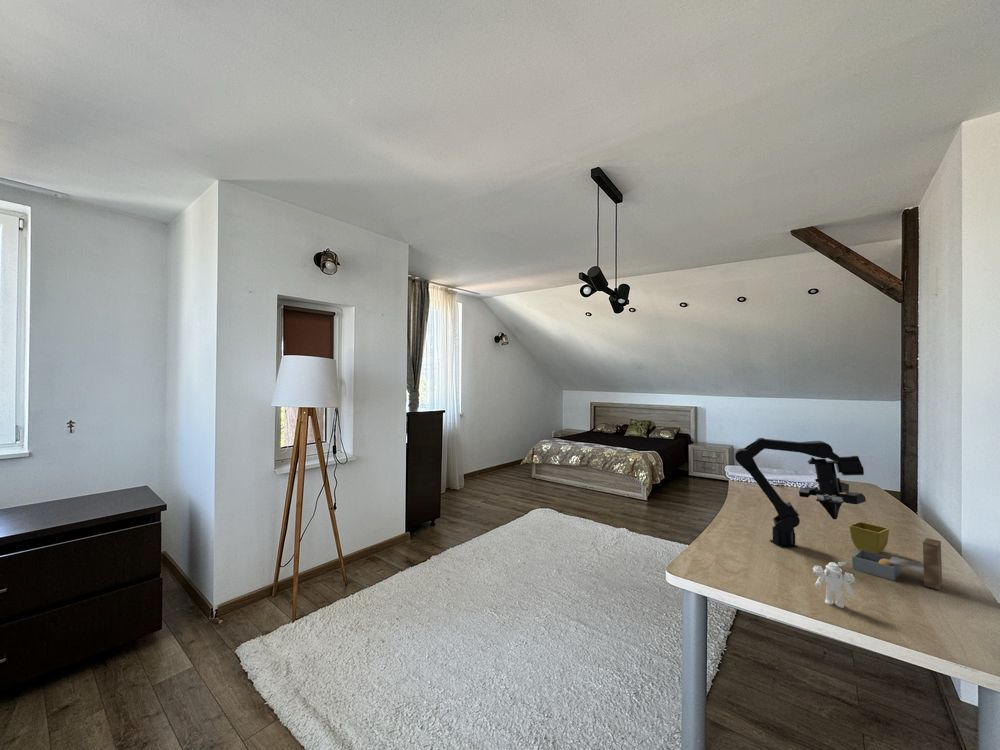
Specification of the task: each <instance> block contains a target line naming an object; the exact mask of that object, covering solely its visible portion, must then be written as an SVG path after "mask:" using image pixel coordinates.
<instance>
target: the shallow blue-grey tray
mask: <svg viewBox="0 0 1000 750" xmlns="http://www.w3.org/2000/svg"><path fill="white" fill-rule="evenodd" d="M891 558H892V556H887V555H884V554H880V553H878V554H877V553H873V552H869V551H865V550H861V549H860V550H858V551H857V552H856V553H855V554H853V555H852V557H851V562H852V564H851V565H852V568H851V569H852V570H856V571H860V572H863V573H866V574H869V575H872V576H873V575H874V576H877V577H880V578H883V579H886V580H890V581H896V580H897V578H898V577H899V576H900V575H901V574H902V572H903V571H902V567H900V566H896V565H893V566H892V567H891V566H888V565H884V564H880V563H878V562H879V560H881V559H889V560H890V559H891Z"/></svg>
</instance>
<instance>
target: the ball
mask: <svg viewBox="0 0 1000 750" xmlns="http://www.w3.org/2000/svg"><path fill="white" fill-rule="evenodd" d="M888 561H889V559H881V560H879V562H878V563H880V564H884V565H888V566H891V567H892V566H893V564H889V563H888Z"/></svg>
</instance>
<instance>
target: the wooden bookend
mask: <svg viewBox="0 0 1000 750" xmlns="http://www.w3.org/2000/svg"><path fill="white" fill-rule="evenodd" d="M941 542H942V541H941V540H938V539H934V538H928V537H926V538H924V540H923V541H922V553H923V554H922V556H923V557H922V560H923V563H919V562H917V561H912V560H908V559H905V558H901V557H897V556H894V555H893V556H891V557H892V558H891V559H890V560H889V561H888V563H889V564H893V565H896V566H900V567H901V568H905V569H908V570H912V571H916V572H918V573H919V572H920V573H923V584H924V585H923V586H924V587H926V586H927V588H930V587H931V588H930V589H934V588H935V589H934V590H937V589H938V591H940V589H941V588H942V586H943V572H942V571H943V567H942V543H941ZM941 585H942V586H941ZM940 587H941V588H940Z"/></svg>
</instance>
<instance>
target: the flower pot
mask: <svg viewBox="0 0 1000 750" xmlns="http://www.w3.org/2000/svg"><path fill="white" fill-rule="evenodd" d="M848 526H849V527H848V528H849V533H850V538H851V540H852V543H853V544H854V547H855V548H856V549H857V550H858V551H859V550H860V549H861V550H865V551H869V552H873V553H877V554H880V553H882V552H883V551H884V550H885V549H886V547H887V545H888V542H889V534H890V528H889V527H884V526H880V525H875V524H872V523H866V522H863V521H857V522H855V523H852V524H849V525H848Z"/></svg>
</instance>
